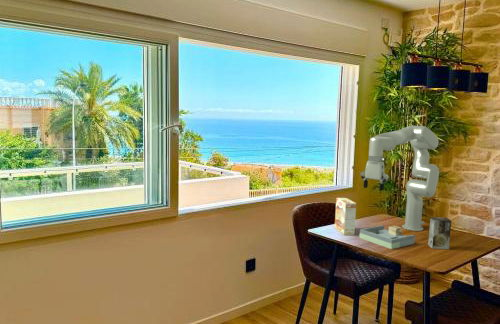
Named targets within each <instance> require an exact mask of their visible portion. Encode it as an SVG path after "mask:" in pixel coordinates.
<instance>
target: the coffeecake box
mask: <svg viewBox="0 0 500 324" xmlns="http://www.w3.org/2000/svg"><path fill="white" fill-rule="evenodd" d="M356 213H357V202H355V201H354V200H353V201H352V200H351V199H349V198H347V197H336V199H335V214H334V216H335V217H334V229H335V230H336V231H337V232H338V233H340V234H341V235H342V236H355V230H356V229H355V228H356Z"/></svg>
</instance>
